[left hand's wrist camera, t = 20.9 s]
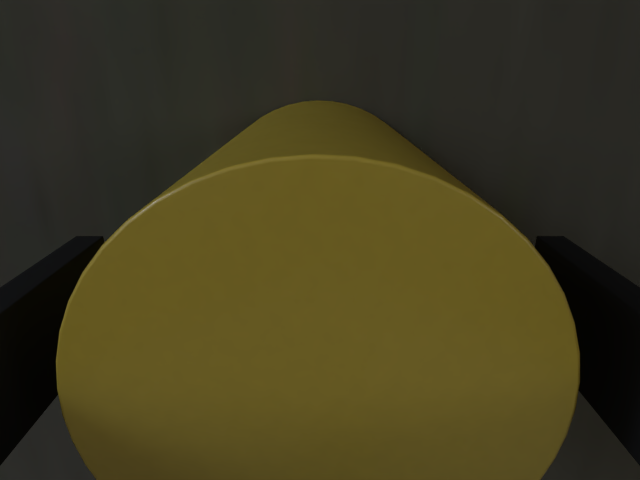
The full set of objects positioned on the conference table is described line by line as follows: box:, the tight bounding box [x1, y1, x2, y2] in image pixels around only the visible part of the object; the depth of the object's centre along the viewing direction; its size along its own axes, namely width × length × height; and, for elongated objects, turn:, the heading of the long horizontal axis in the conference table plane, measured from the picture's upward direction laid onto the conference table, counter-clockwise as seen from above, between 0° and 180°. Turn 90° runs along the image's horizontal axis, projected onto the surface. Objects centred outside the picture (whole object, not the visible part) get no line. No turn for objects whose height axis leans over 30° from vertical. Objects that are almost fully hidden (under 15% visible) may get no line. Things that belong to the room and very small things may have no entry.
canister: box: [56, 101, 580, 480], centre depth 13 cm, size 9×9×12 cm
